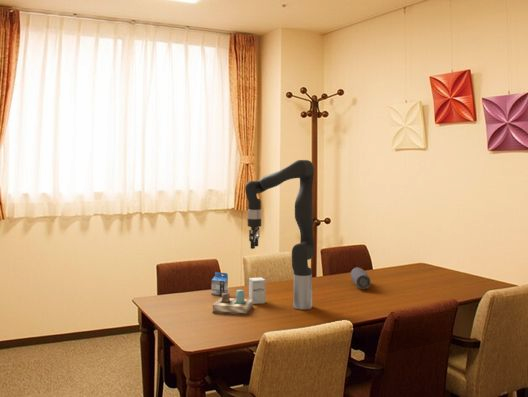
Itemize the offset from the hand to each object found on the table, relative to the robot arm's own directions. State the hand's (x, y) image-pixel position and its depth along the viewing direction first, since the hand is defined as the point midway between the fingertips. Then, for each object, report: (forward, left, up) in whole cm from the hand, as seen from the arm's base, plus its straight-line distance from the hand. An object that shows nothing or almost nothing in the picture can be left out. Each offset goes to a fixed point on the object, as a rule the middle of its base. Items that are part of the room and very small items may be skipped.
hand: (254, 247), depth 278 cm
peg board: (+5, +24, -28) cm, 37 cm away
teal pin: (+2, +24, -27) cm, 36 cm away
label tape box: (+21, -4, -28) cm, 36 cm away
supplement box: (-3, +7, -28) cm, 29 cm away
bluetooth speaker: (-56, -40, -28) cm, 74 cm away
